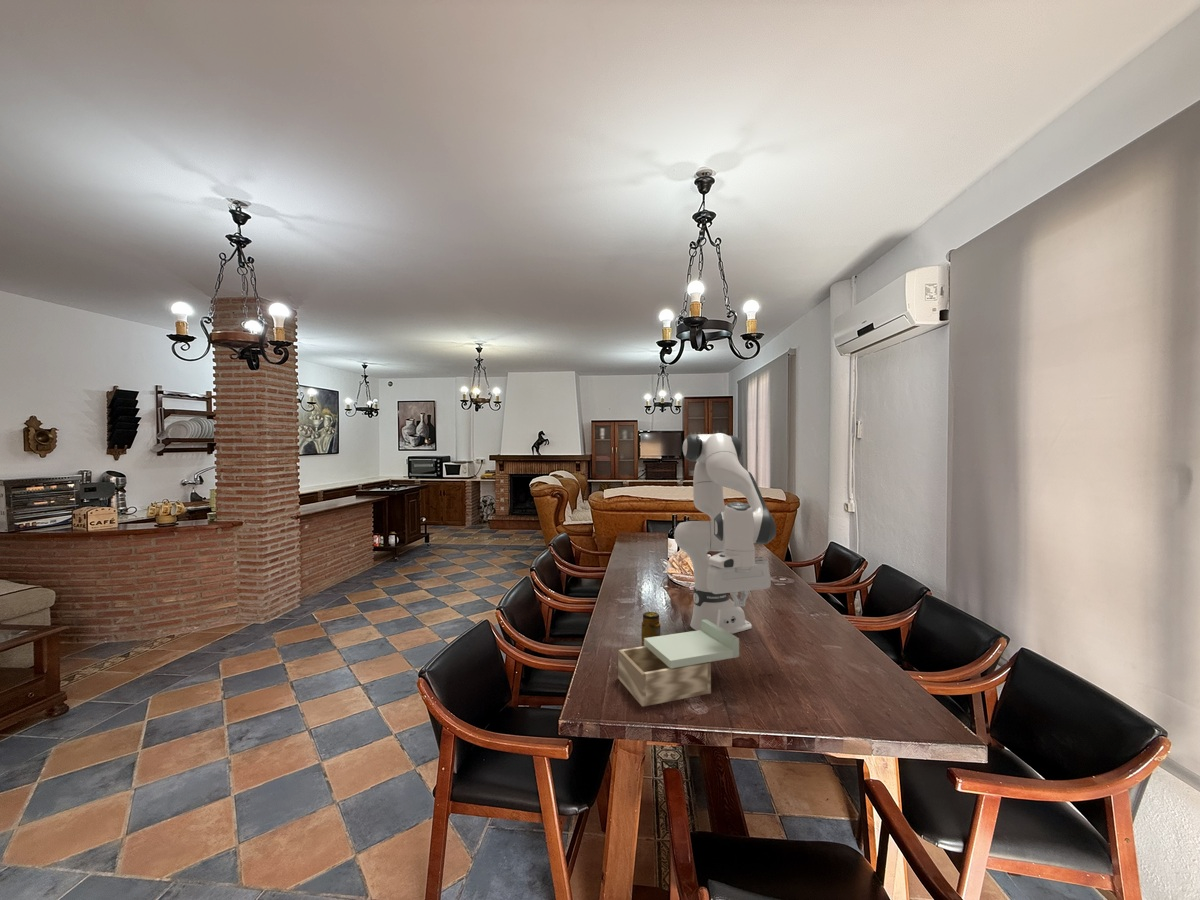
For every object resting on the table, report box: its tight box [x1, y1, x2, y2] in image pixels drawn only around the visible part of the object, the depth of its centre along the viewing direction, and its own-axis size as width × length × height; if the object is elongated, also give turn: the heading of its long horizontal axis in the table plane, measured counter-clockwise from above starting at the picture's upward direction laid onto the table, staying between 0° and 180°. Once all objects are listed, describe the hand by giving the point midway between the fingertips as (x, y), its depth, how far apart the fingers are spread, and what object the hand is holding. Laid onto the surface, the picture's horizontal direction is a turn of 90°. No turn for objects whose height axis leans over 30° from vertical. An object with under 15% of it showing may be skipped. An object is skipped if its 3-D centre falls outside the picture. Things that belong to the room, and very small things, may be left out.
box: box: [617, 645, 712, 707], centre depth 128 cm, size 20×16×8 cm
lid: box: [644, 619, 740, 669], centre depth 131 cm, size 21×16×5 cm
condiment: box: [641, 611, 662, 647], centre depth 150 cm, size 7×8×12 cm
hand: (739, 606), depth 137 cm, fingers closed
